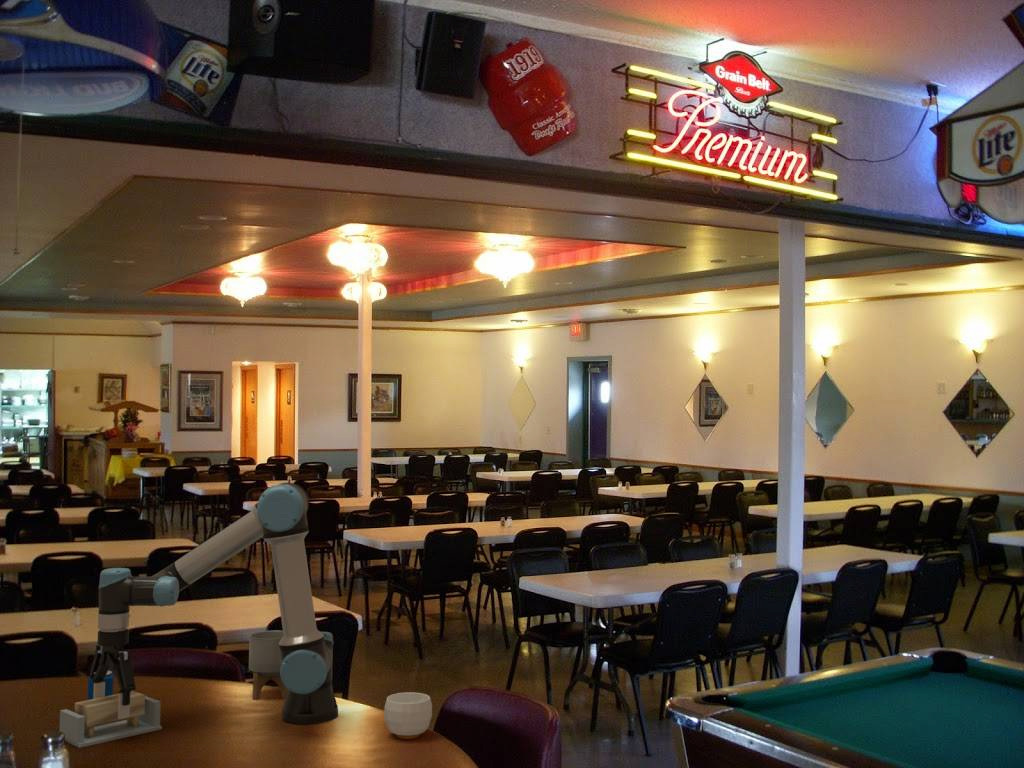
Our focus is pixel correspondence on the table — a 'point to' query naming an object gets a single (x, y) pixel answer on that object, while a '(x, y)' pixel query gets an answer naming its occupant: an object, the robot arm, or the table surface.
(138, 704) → the shelf board
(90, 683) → the beverage can
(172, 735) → the table surface
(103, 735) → the peg frame
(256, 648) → the planter
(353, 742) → the table surface
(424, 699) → the cup
